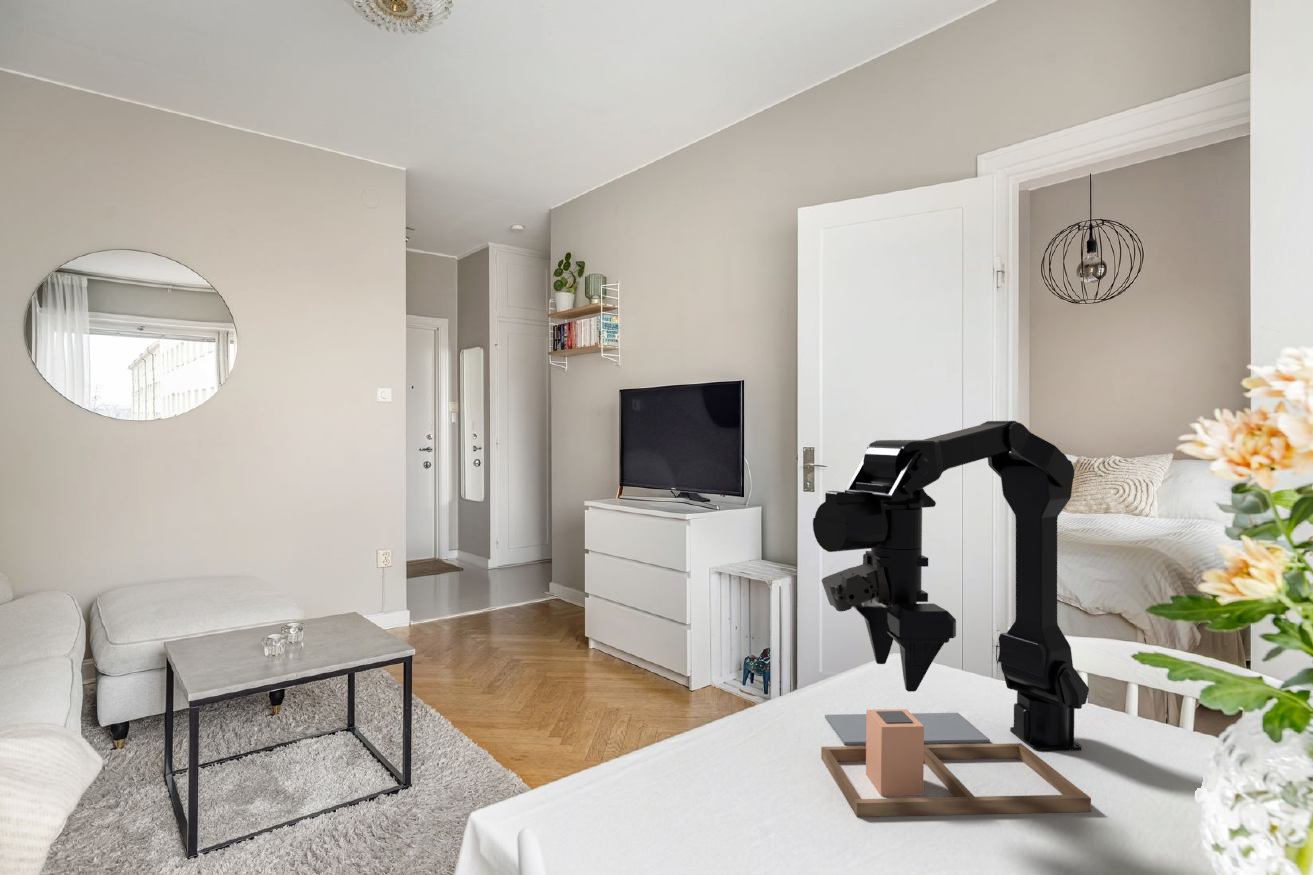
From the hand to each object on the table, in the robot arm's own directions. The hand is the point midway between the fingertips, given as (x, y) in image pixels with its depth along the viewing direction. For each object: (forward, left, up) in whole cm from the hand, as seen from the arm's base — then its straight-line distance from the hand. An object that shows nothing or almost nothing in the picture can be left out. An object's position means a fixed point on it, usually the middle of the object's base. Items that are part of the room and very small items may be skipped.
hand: (895, 676), depth 84 cm
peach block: (0, 0, -13) cm, 13 cm away
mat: (-7, -15, -13) cm, 21 cm away
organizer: (-6, 0, -13) cm, 14 cm away
